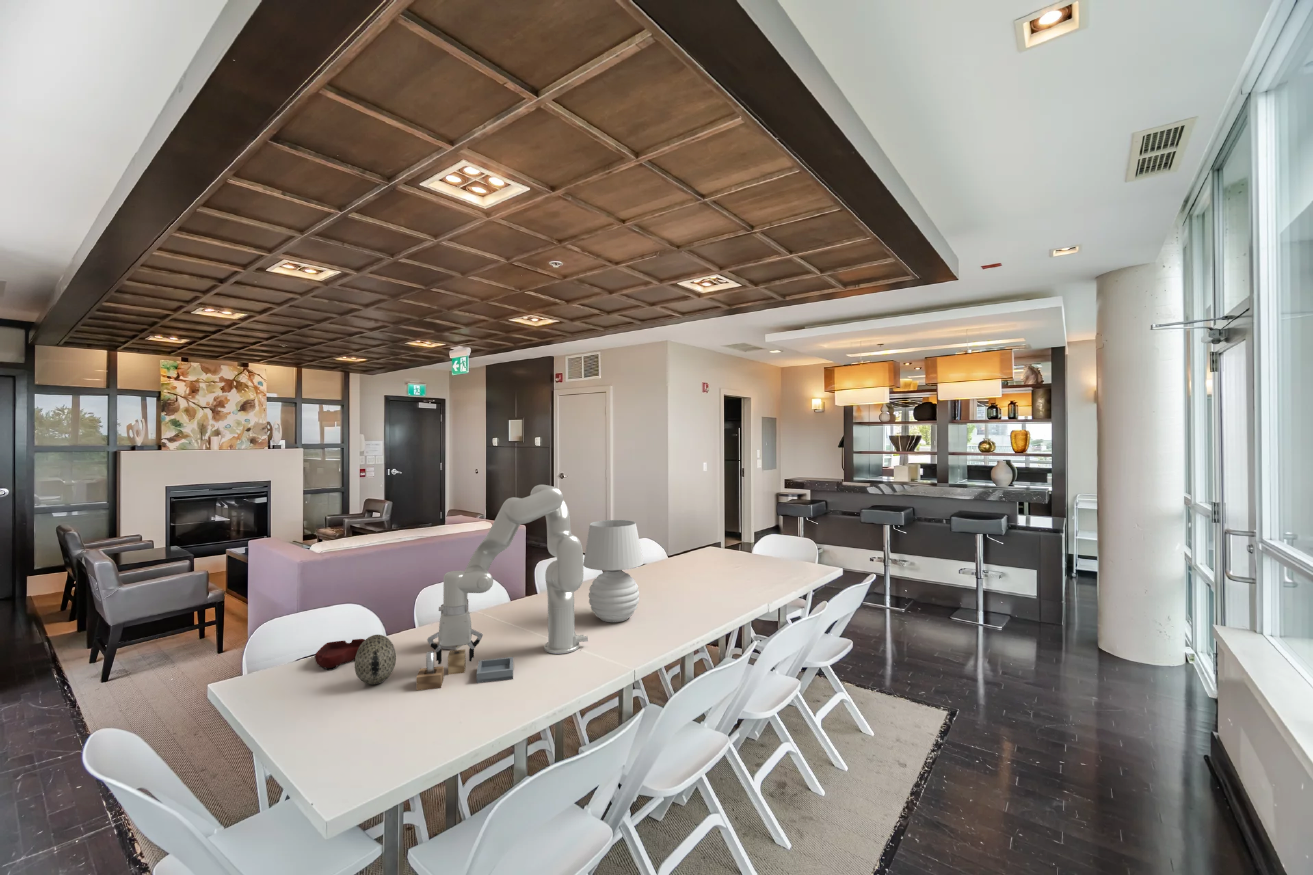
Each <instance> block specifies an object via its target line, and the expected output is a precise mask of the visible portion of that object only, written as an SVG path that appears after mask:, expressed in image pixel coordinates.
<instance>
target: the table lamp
mask: <svg viewBox="0 0 1313 875" xmlns="http://www.w3.org/2000/svg"><path fill="white" fill-rule="evenodd" d="M586 538H587V540H586V546H585V552H584V556H583V568H586V569H590V570H593V571H594V570H596V571H604V572H602V573H600V574H598V576H597V577H595V578H594V579H593V581H592V582H591V585H590V586H589V589H588V590H589V592H588V598H589V599H588V604H589V605H590V610H591V611H592V612H593V613H594V615H595V616H596V617H597V618H599V619H600V620H601V621H602V622H607V623H620V622H621V623H622V622H625V621H626V620H628V619H629V618H630V617H631V616H632V615H633V614H634V613H635V611H636V610H637V608H638V604H639V602H640V597H639V596H640V591H639V585H638V584H637V582H636V580H635V578H634V577H632V576H631V574H629V573H627V572H626V571H624V570H631V569H635V568H639V567H641V566H643V565H644V562H645V560H644V556H643V552H642V546H641V541H640V537H639V531H638V528H637V522H636V521H633V520H626V519H623V520H622V519H610V520H609V519H608V520H606V519H605V520H598V521H593V522H590V524H589V528H588V534H587V537H586Z"/></svg>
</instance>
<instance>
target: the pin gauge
mask: <svg viewBox="0 0 1313 875" xmlns="http://www.w3.org/2000/svg"><path fill="white" fill-rule="evenodd" d="M434 652H435V651H434V650H430V651H427V652H426V653H425V654H426V656H425V657H426V658H425V660H426V663H425V664H426V665H425V666H426V667H425V668H427V674H434V667H435V653H434Z"/></svg>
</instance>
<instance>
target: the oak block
mask: <svg viewBox="0 0 1313 875" xmlns="http://www.w3.org/2000/svg"><path fill="white" fill-rule="evenodd" d="M466 662H467V661H466V649H465V648H464V649H457V650H449V651H448V654H447V674H448V675H457V674H464V673H465V672H466V668H467V667H466V666H467V665H466V664H467V663H466Z"/></svg>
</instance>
